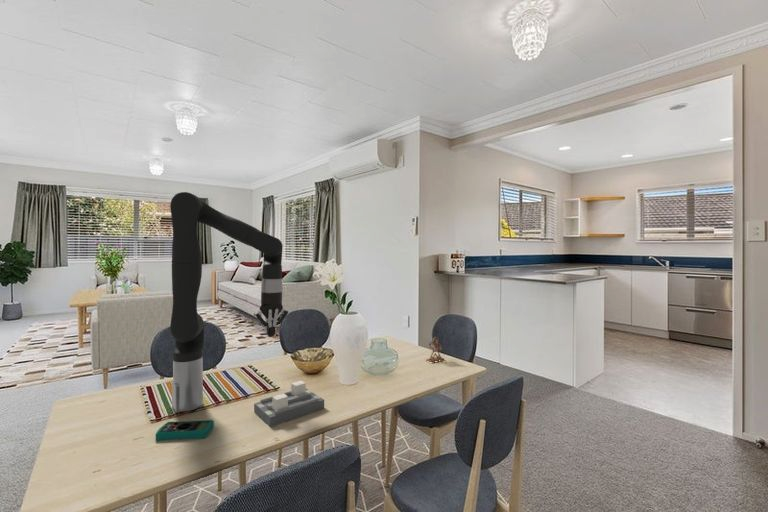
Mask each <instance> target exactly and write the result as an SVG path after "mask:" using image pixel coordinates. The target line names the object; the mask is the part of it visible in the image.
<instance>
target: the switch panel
mask: <svg viewBox="0 0 768 512" xmlns="http://www.w3.org/2000/svg"><path fill="white" fill-rule="evenodd" d="M283 393H284V394H285V395H287V396H288V407H286V408H283V409H280V410H277V411H275V410H274V409H272V397H273V396H276V395H280V394H283ZM283 393H279V394H275V395H272V396H268V397H265V398H261V399H260V401H258V402H254V403H253V412H254V413H255V415H257V416H258V417H259V418H260V419H261V420H262V421H263V422H264V423H265V424H266V425H267V426H268V427H273V426H277V425H279V424H283V423H285V422H288V421H291V420H294V419H297V418H300V417H303V416H306V415H309V414H312V413H315V412H317V411H321V410H323V409H325V399H324V398H323V397H320V396H319V395H317V394H316V393H315V392H313V391H311V390H309V389H308V388H306V393H304V394H301V395H297V396H294V395H292V394H291V390H290V391H286V392H283Z"/></svg>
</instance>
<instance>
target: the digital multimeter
mask: <svg viewBox="0 0 768 512" xmlns="http://www.w3.org/2000/svg"><path fill="white" fill-rule="evenodd" d="M214 427H215V420H213V419H202V420H186V421H185V420H183V421H182V420H181V421H180V420H179V421H167V422H166V423H164V424H163V425H162V426H161V427H159V429H158V430H157V431H156V433H155V441H169V440H187V439H188V440H189V439H193V440H195V439H205V438H207V437H208V436H209V434H210V433H211V432H212V431H213V429H214Z"/></svg>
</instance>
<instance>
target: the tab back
mask: <svg viewBox="0 0 768 512" xmlns="http://www.w3.org/2000/svg"><path fill="white" fill-rule="evenodd" d="M290 387H291V390H290V391H291V394H292V395H294V396H297V395H301V394H304V393H306V389H307V388H306V387H307V386H306V382H305V381H303V380H298V381H294V382H291V386H290Z"/></svg>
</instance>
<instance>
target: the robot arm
mask: <svg viewBox="0 0 768 512" xmlns="http://www.w3.org/2000/svg"><path fill="white" fill-rule="evenodd" d="M169 207H170V216H171V224H172V246H171V247H172V248H171V280H172V281H171V289H172V290H171V291H172V292H171V293H172V308H171V309H172V311H171V317H170V319H171V320H170V326H169V330H170V334H171V336H172V338H173V339H174V340H175V344H174V348H173V352H172V380H171V407H172V409H173V410H174V412H175V413H178V412H179V413H180V412H182V413H183V412H189V411H193V410H196V409H198V408H200V407H201V406H202V405H203V404H204V387H203V386H204V385H203V383H204V381H203V380H204V378H203V377H204V373H203V368H204V367H203V366H204V365H203V363H204V362H203V358H204V357H203V355H204V354H203V352H204V346H205V345H204V344H205V342H204V341H205V322H204V318H203V317H202V316H201V315H200V314H199V313H198V295H199V291H200V286H201V284H202V283H201V282H202V277H203V275H202V274H203V263H202V262H203V259H202V251H201V246H200V244H199V243H200V242H199V238H198V223H200V224H204V225H206V226H209V227H211V228H213V229H215V230H217V231H219V232H220V233H222V234H224V235H225V236H228V237H229V238H232V239H234V240H235V241H237V242H240V243H242V244H244V245H246V246H249V247H252V248H254V249H255V250H258V251H259V252H261V253H263V265H262V269H261V271H262V275H261V276H262V278H261V287H260V288H261V289H260V306H259V309H258V311H256V312H254V313H253V316H254V317H255V319H256V320H257V321H258V322H259V323H260V324H261V325H262V326H264V327H266V335H267V336H268V338H273V337H275V335H276V327H277V326H279V325H281V324H282V322H283V321H284V320H285V318H286V316H288V313H289V311H288V310H286V309H284V306H283V303H282V302H283V265H282V260H283V242H282V241H281V240H280V239H279V238H278V237H275V236H273V235H270V234H268V233H266V232H263V231H261V230H260V229H258V228H257V227H254V226H253V225H251V224H248V223H246V222H244V221H242V220H240V219H237V218H235V217H232V216H230V215H227V214H225V213H223V212H220V211H218V210H217V209H215V208H214V207H212V206H210V205H209V204H207V203H206V202H204V201H203V200H201V198H200V197H199V196H197V195H196V194H194V193H191V192H188V191H180V192H177V193H176V194H175V195H174V196H172V198H171V201H170V205H169ZM263 316H264V319H263Z"/></svg>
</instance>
